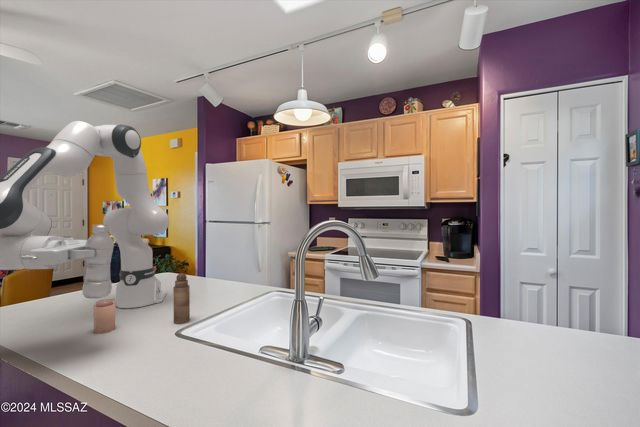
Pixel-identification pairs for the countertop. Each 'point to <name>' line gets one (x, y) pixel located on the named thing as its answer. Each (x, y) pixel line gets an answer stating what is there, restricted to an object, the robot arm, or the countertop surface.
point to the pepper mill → (181, 299)
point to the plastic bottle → (98, 264)
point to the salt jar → (104, 316)
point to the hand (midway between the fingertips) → (103, 251)
